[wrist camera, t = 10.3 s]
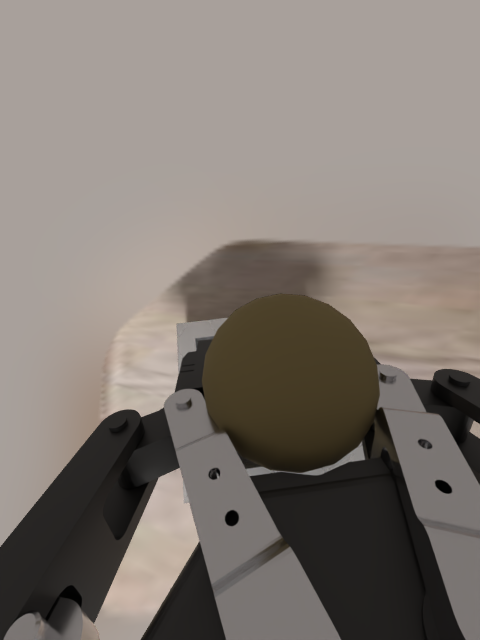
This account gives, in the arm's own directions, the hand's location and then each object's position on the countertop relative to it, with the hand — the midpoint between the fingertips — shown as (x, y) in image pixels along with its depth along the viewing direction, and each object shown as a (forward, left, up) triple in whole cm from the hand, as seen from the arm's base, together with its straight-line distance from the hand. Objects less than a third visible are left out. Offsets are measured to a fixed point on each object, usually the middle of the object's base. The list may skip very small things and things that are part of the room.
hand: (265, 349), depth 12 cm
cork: (0, +2, -5) cm, 6 cm away
